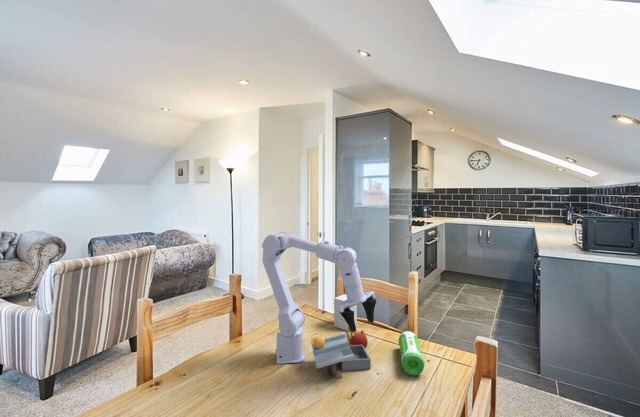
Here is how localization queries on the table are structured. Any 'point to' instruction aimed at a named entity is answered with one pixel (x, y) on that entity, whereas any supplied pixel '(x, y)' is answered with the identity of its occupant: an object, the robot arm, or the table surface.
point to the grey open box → (357, 360)
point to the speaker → (411, 353)
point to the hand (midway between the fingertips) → (362, 326)
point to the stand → (333, 371)
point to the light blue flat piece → (333, 351)
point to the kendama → (357, 338)
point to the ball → (318, 342)
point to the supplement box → (338, 318)
